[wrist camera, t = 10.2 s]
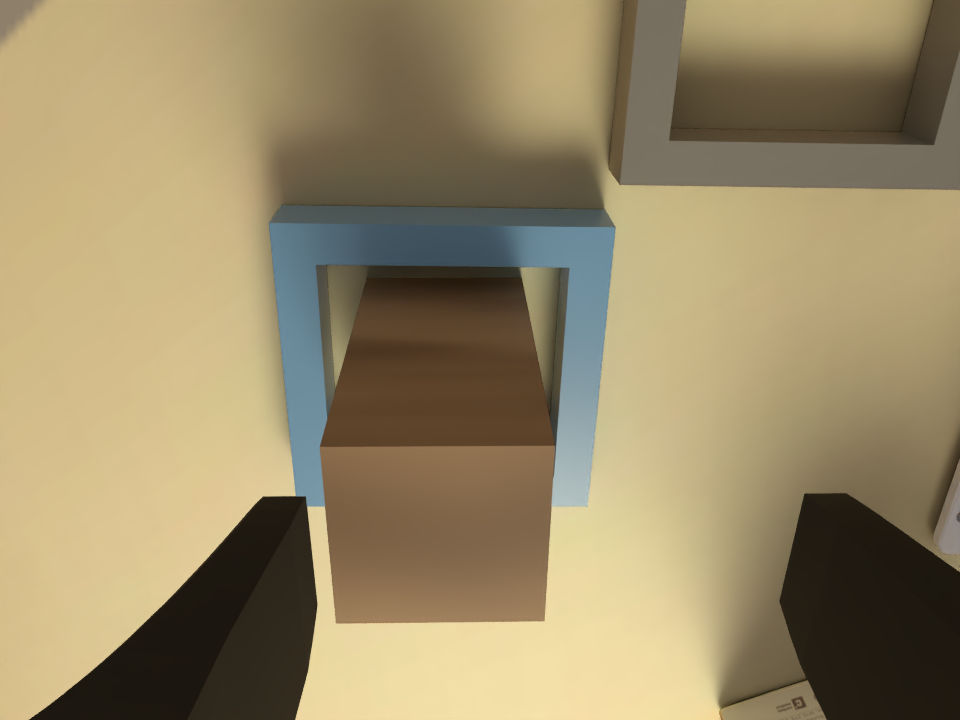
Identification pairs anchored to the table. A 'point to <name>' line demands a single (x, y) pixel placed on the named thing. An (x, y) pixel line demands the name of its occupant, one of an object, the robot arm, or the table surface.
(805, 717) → the small box
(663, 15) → the frame
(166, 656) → the robot arm
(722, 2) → the table surface
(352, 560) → the walnut peg
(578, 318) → the blue rim cradle
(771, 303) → the table surface
